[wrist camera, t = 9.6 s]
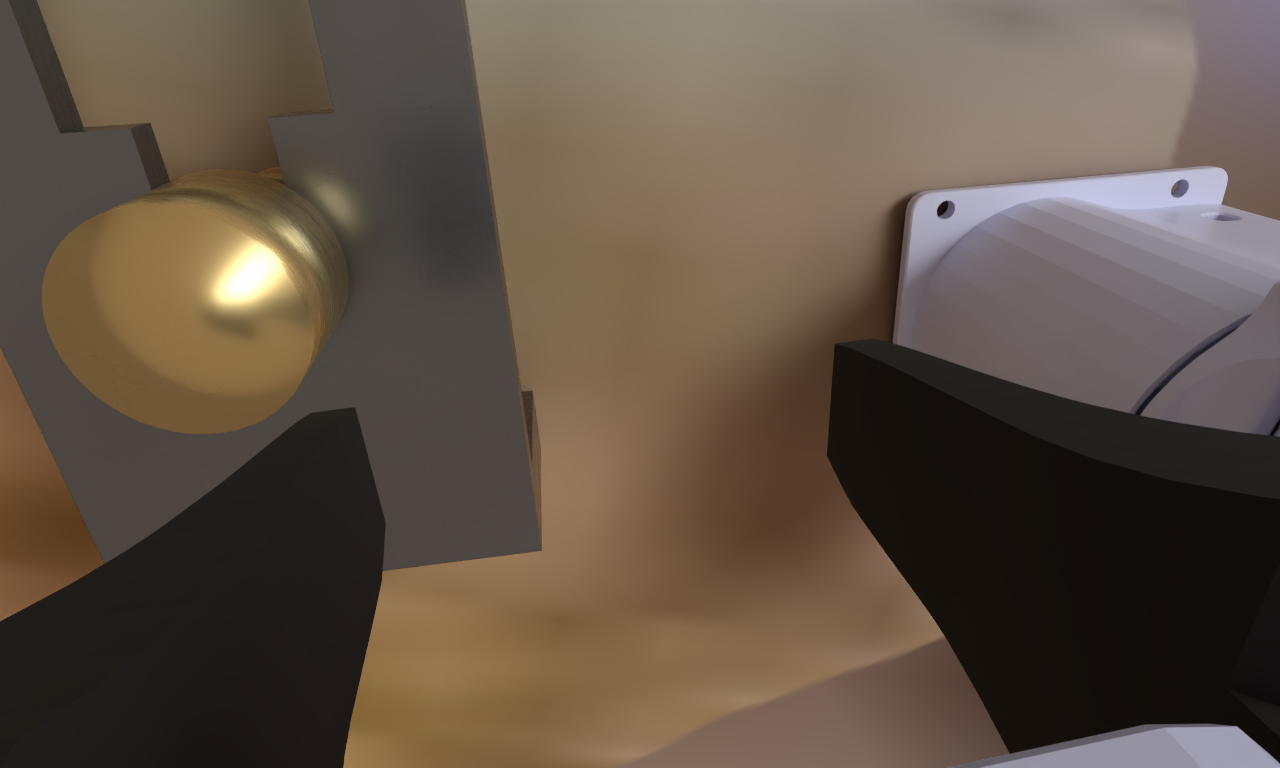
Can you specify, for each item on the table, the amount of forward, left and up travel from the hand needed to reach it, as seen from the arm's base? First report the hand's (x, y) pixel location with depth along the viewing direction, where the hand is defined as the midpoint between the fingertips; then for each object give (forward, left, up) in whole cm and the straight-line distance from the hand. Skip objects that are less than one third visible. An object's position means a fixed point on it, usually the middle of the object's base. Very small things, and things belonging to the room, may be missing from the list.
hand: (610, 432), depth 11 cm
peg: (+7, -1, -9) cm, 12 cm away
